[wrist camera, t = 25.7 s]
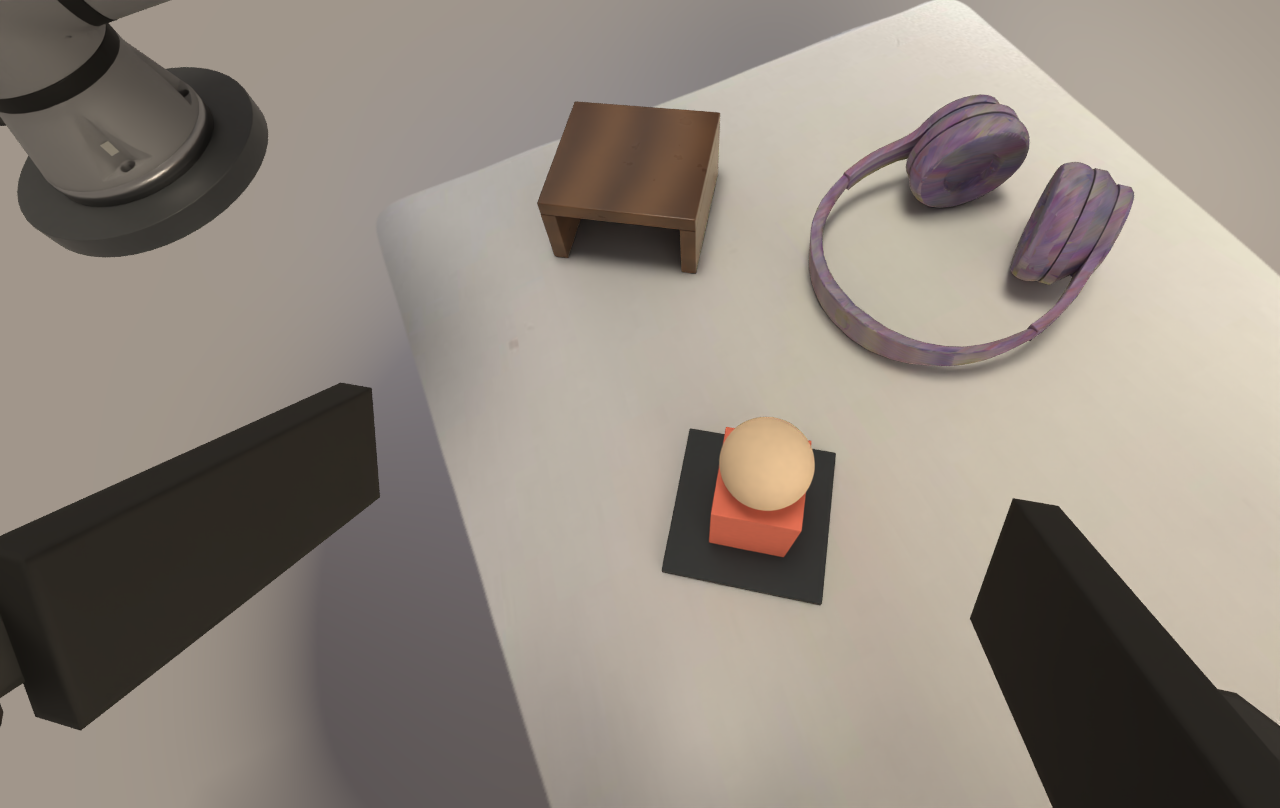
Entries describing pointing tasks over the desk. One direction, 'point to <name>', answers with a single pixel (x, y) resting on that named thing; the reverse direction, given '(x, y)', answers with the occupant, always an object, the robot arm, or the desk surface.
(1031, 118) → the desk surface
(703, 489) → the mat
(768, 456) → the toy
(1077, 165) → the headphones
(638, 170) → the shelf
